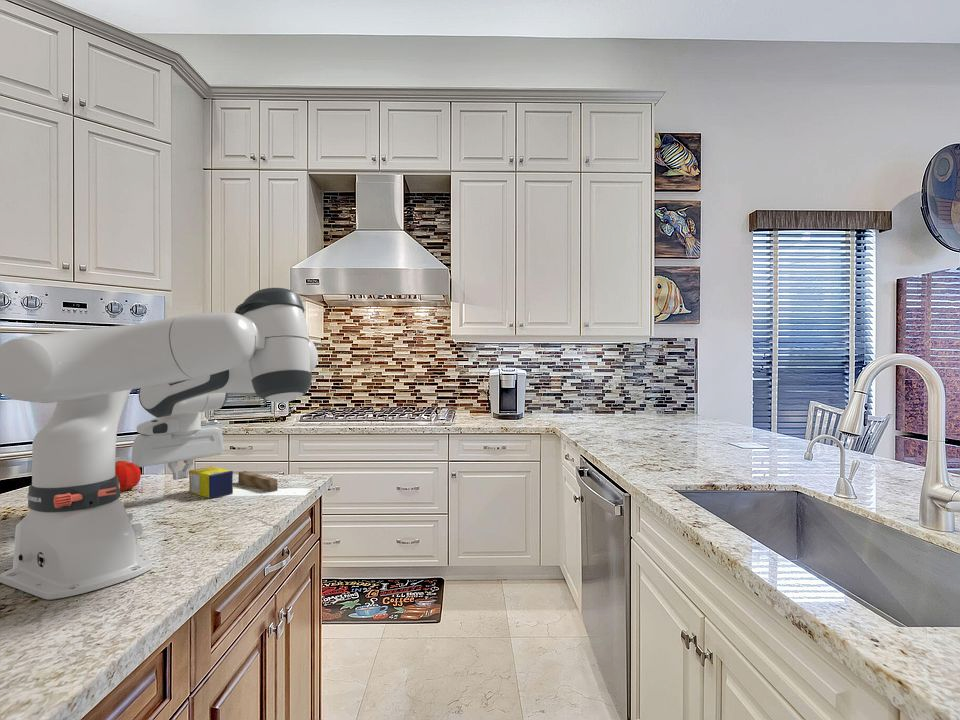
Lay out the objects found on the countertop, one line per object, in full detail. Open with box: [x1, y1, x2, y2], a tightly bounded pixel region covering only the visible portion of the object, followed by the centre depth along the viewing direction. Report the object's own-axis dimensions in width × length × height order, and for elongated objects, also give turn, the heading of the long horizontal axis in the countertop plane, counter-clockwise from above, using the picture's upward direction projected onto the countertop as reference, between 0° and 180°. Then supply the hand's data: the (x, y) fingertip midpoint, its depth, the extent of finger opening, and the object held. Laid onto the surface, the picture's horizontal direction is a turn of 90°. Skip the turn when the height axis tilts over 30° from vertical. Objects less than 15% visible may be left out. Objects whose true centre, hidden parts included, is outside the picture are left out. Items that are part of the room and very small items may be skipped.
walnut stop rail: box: [237, 470, 278, 493], centre depth 136 cm, size 16×2×3 cm, turn 55°
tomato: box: [115, 460, 142, 493], centre depth 131 cm, size 11×11×8 cm
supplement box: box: [188, 466, 234, 499], centre depth 129 cm, size 6×6×11 cm
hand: (180, 478), depth 123 cm, fingers closed
